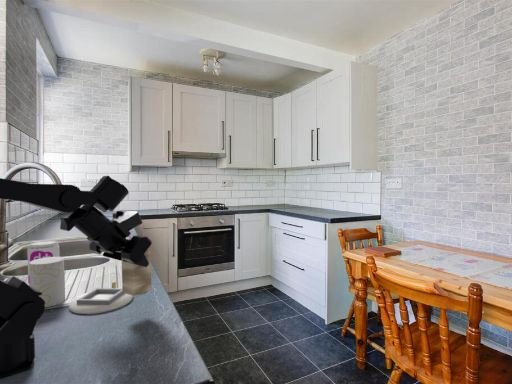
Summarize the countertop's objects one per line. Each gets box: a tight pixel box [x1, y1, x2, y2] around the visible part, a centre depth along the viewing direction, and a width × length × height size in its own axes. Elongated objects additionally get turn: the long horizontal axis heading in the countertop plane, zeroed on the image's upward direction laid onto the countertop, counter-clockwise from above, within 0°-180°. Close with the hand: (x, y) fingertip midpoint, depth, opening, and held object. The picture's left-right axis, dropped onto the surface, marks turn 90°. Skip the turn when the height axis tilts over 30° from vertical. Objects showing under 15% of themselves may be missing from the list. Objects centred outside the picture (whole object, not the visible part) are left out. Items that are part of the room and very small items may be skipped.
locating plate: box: [68, 281, 134, 315], centre depth 83 cm, size 16×16×4 cm
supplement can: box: [27, 240, 61, 286], centre depth 93 cm, size 8×8×15 cm
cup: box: [29, 256, 66, 308], centre depth 83 cm, size 8×8×12 cm
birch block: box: [121, 246, 152, 297], centre depth 75 cm, size 5×5×13 cm
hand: (141, 263), depth 76 cm, fingers closed on birch block, 5 cm apart
